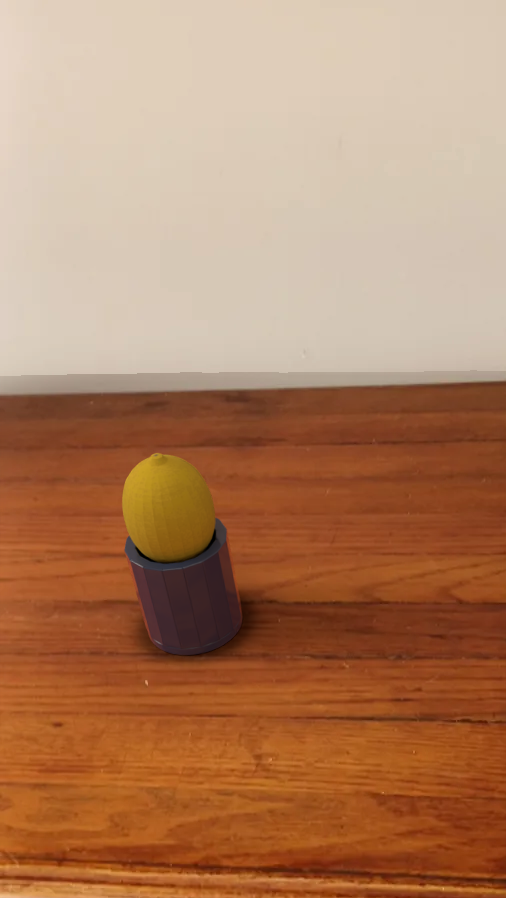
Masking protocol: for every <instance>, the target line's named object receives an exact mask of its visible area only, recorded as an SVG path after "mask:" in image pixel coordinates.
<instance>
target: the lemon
mask: <svg viewBox="0 0 506 898" xmlns="http://www.w3.org/2000/svg"><path fill="white" fill-rule="evenodd" d="M124 481H125V482H124V485H123V490H122V495H121V496H122V498H121V499H122V500H121V509H122V515H123V520H124V524H125V528H126V531H127V533H128V536H130V538H131V539H132V541H133V543H134V544H135V545H136V546H137V548H138V549H139V550H140V551H141V552H142V553H143V554H144V555H145V556H147V557H148V558H150V559H152V560H154V561H156V562H158V563H163V564H169V563H179V562H184V561H187V560H190V559H193V558H195V557H198V556H199V555H200V554H201V553H202V552H203V551H204V550H205V549H206V548H207V546H208V545H209V543H210V541H211V539H212V536H213V532H214V529H215V517H216V509H215V503H214V499H213V496H212V492H211V490H210V487H209V485H208V484H207V482H206V480H205V478H204V477H203V475H202V474H201V472H200V471H199V470H198V469H197V467H196V466H194V465H193V464H192V463H190V462H189V461H187V460H186V459H185V458H182V457H179V456H176V455H172V454H162V453H160V452H156V453H153V454H151V455H150V456H148V457H147V458H144V459H143V460H141V461H140V462H138V464H136V465H135V466H134V467H133V468H132V469H131V471H130V472H129V474H128V476H127V477H126V479H125V480H124Z"/></svg>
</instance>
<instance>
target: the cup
mask: <svg viewBox="0 0 506 898" xmlns="http://www.w3.org/2000/svg"><path fill="white" fill-rule="evenodd" d="M228 533H229V532H228V529H227V527H226V526H225V525H224V523H223V522H222V520H221V519H219V518H218V517H216V516H215V529H214V532H213V536H212V539H211V541H210V543H209V545H208V546H207V548H206V549H205V550H204V551H203V552H202V553H201V554H200V555H199V556H198V557H195V558H193V559H190V560H187V561H184V562H179V563H169V564H163V563H158V562H156V561H154V560H152V559H150V558H148V557H147V556H145V555H144V554H143V553H142V552H141V551H140V550H139V549H138V548H137V546H136V545H135V544H134V543H133V541H132V539H131V538H130V536H129V535H128V536H127V537H126V540H125V543H124V549H123V551H124V555H125V557H126V562H127V565H128V569H129V572H130V576H131V579H132V583H133V587H134V590H135V594H136V597H137V601H138V604H139V608H140V612H141V615H142V619H143V622H144V627H145V629H146V630H147V634H148V637H149V640H150V641H151V643H152V644H153V645H154V646H155V647H156V648H158V649H159V650H161V651H163V652H165V653H168V654H172V655H178V656H195V655H200V654H205V653H208V652H209V653H210V652H211V651H214V650H217V649H218V648H220V647H222V646H224V645H225V644H227V643H228V642H230V641H231V640H232V639H233V638H234V637H235V636H236V635H237V634H238V632H239V631H240V629H241V627H242V624H243V619H244V618H243V612H242V602H241V598H240V592H239V591H240V590H239V586H238V581H237V575H236V570H235V565H234V561H233V555H232V550H231V543H230V539H229V534H228Z"/></svg>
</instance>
